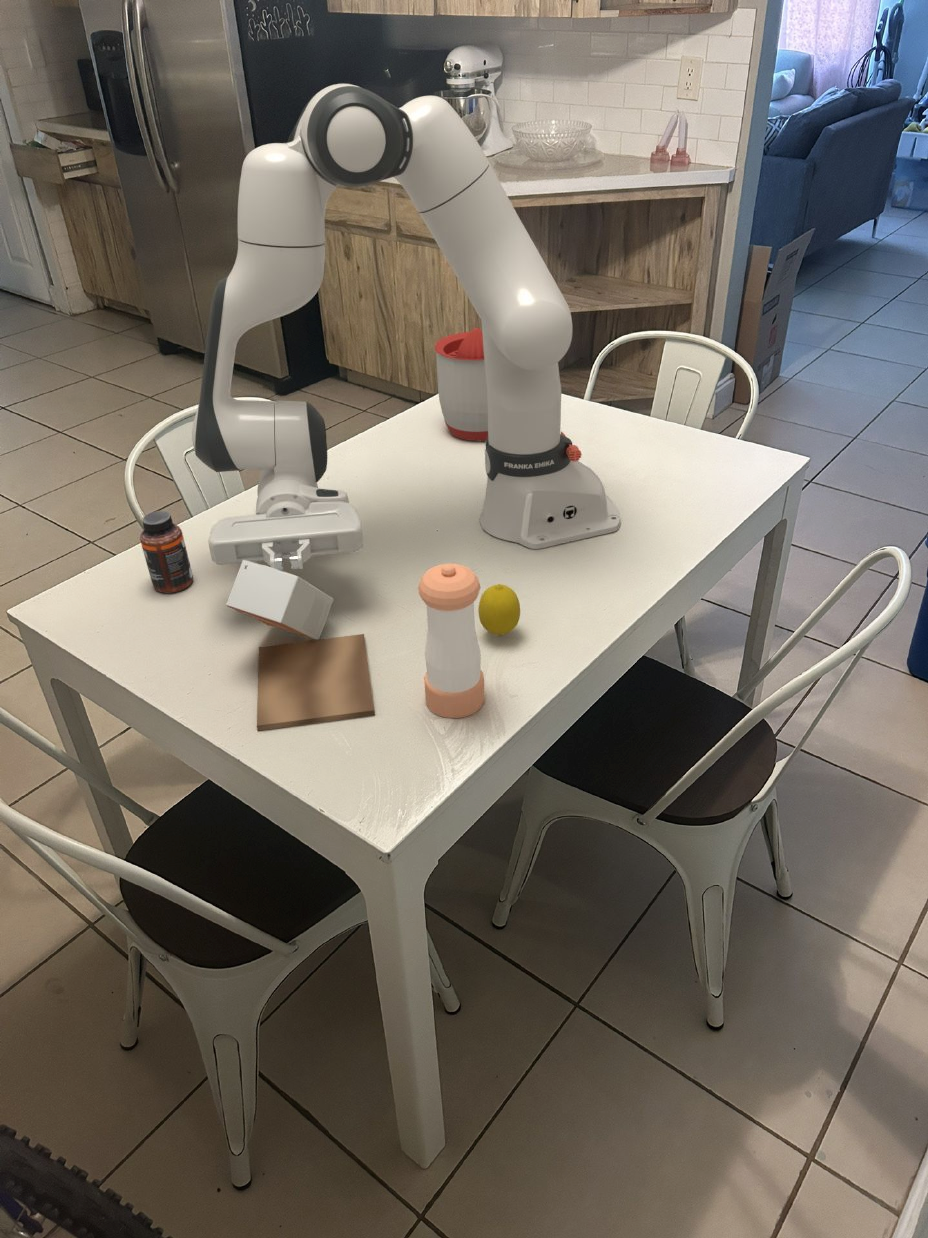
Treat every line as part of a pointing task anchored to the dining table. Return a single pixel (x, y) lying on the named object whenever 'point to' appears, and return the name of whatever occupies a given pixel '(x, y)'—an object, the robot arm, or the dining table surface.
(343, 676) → the walnut board
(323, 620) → the small box
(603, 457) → the dining table surface
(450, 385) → the citrus juicer
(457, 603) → the pepper shaker
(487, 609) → the lemon
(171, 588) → the supplement bottle
